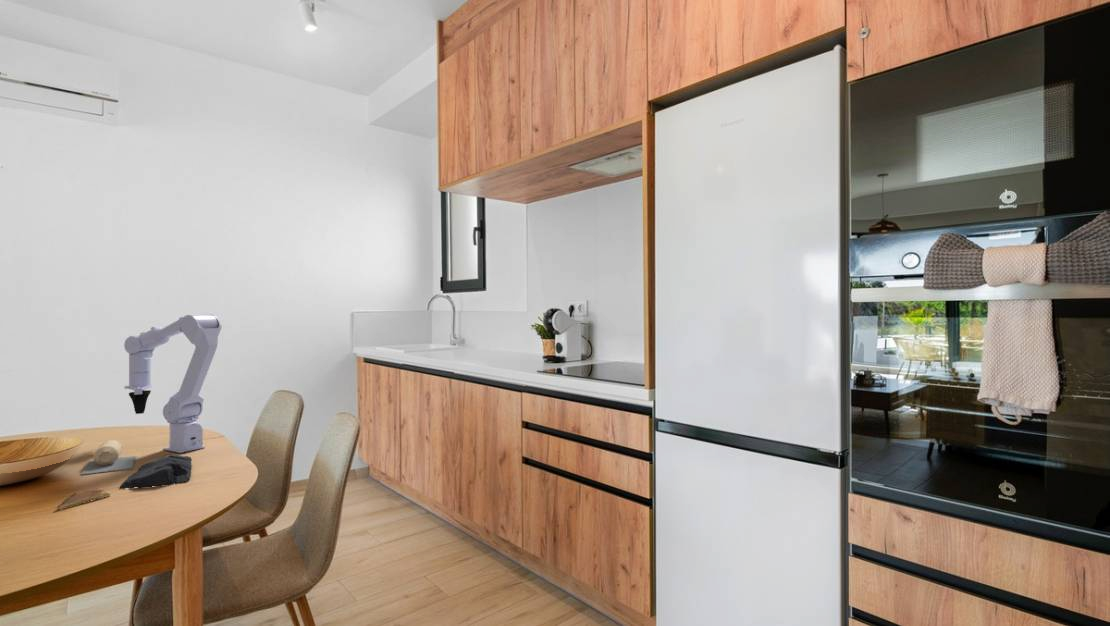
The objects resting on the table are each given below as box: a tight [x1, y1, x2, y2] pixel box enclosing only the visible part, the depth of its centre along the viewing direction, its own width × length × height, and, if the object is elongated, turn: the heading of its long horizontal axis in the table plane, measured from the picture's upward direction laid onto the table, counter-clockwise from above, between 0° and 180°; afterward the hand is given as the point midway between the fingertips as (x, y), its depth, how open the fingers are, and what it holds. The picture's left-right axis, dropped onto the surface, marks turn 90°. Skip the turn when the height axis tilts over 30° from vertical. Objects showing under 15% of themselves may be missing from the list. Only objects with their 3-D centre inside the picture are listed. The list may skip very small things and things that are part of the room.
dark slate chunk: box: [119, 454, 193, 488], centre depth 150 cm, size 15×22×5 cm
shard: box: [56, 487, 112, 511], centre depth 130 cm, size 11×8×2 cm
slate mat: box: [80, 455, 137, 476], centre depth 158 cm, size 14×11×1 cm
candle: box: [93, 439, 123, 466], centre depth 161 cm, size 6×6×10 cm
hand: (139, 413), depth 182 cm, fingers closed
